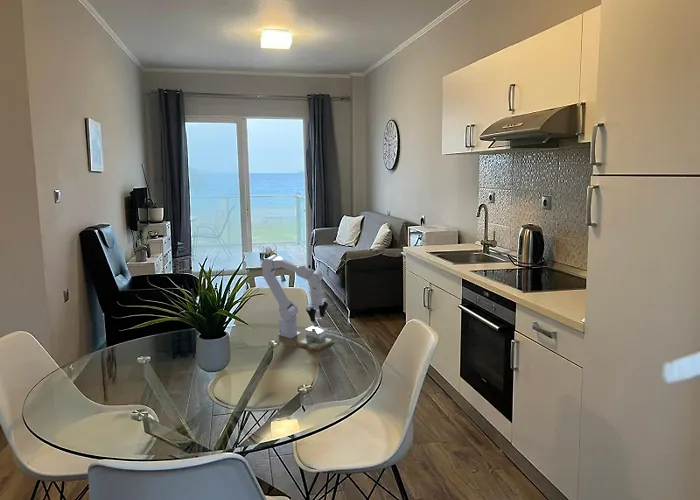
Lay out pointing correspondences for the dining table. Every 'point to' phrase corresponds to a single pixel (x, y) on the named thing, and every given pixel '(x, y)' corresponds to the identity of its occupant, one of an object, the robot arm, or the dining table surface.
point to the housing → (315, 335)
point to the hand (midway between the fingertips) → (317, 318)
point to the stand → (314, 344)
